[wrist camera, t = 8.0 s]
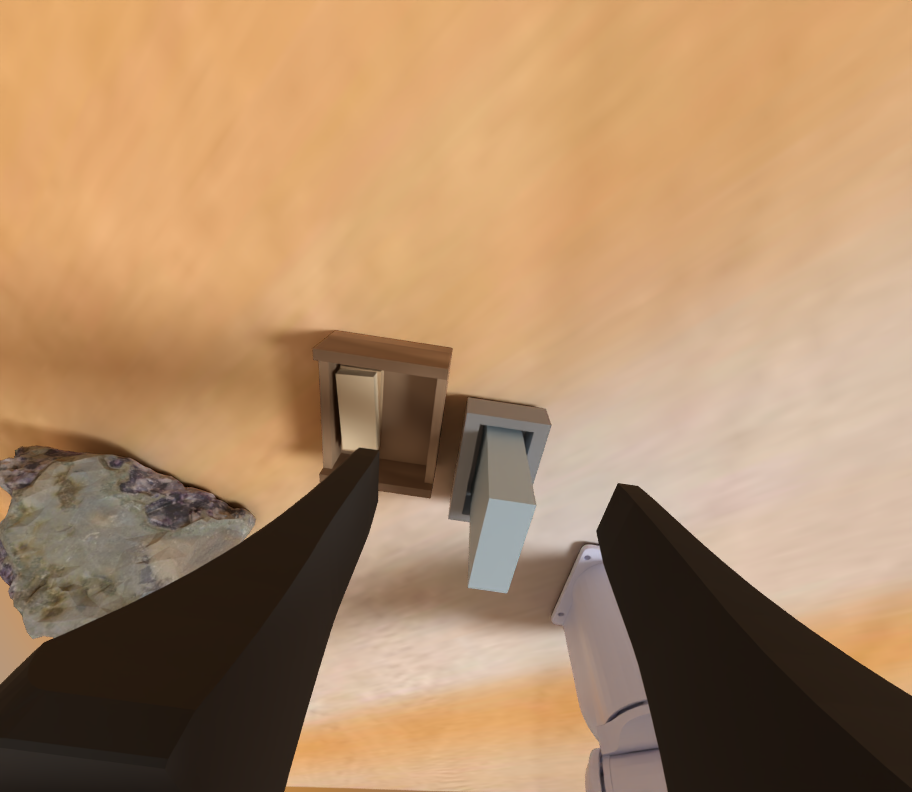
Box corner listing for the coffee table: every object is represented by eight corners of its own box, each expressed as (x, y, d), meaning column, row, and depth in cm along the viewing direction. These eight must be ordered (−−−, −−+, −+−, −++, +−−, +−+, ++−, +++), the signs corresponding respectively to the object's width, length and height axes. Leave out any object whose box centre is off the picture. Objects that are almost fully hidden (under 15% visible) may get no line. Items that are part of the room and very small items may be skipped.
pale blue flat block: (500, 494, 24) (507, 593, 18) (470, 490, 24) (467, 587, 18) (519, 419, 21) (536, 505, 15) (486, 414, 21) (489, 498, 15)
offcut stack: (382, 448, 22) (376, 462, 21) (345, 443, 22) (337, 456, 21) (386, 367, 20) (380, 377, 18) (344, 360, 20) (335, 370, 18)
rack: (436, 466, 24) (430, 498, 21) (337, 451, 24) (319, 482, 21) (452, 348, 20) (448, 369, 17) (335, 330, 20) (312, 348, 17)
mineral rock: (49, 429, 24) (-201, 554, 15) (173, 389, 22) (-34, 507, 13) (171, 554, 30) (38, 700, 21) (280, 531, 28) (184, 683, 19)
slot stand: (515, 504, 25) (518, 529, 23) (450, 495, 25) (448, 519, 23) (544, 405, 21) (551, 425, 19) (468, 394, 21) (467, 412, 19)
